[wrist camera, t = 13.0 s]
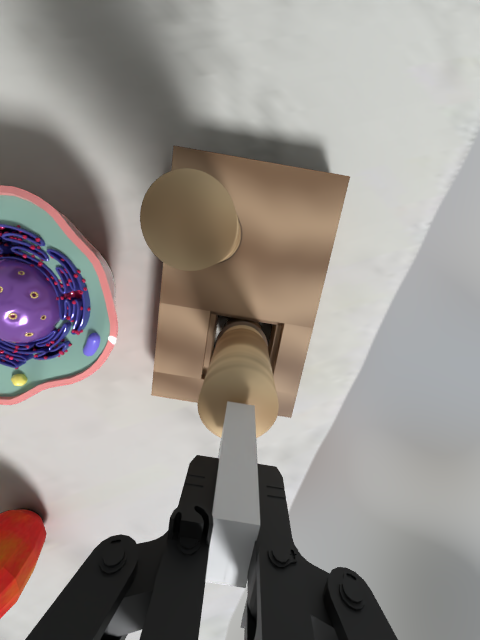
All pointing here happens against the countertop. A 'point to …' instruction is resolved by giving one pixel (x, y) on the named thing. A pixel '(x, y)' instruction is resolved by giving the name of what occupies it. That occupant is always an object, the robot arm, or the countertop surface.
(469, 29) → the countertop surface
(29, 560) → the apple
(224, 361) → the peg
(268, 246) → the board
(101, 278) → the cell model
